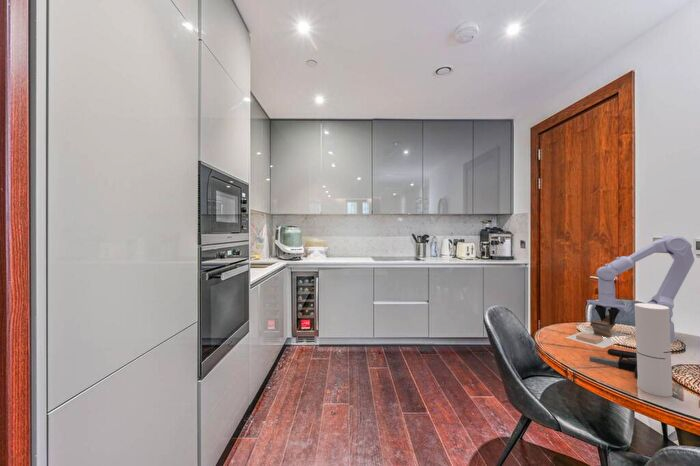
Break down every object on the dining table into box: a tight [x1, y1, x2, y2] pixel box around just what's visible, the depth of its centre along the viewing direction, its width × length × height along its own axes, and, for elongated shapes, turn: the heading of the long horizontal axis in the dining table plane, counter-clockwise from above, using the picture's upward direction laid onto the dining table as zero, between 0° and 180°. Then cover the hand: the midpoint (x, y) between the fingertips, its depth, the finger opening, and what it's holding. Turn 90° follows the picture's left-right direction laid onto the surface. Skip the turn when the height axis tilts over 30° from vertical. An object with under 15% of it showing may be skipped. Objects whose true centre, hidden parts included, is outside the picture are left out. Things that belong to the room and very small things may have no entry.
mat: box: [564, 328, 633, 349], centre depth 129 cm, size 25×14×1 cm, turn 116°
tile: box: [576, 333, 603, 344], centre depth 125 cm, size 2×7×6 cm
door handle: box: [589, 348, 638, 379], centre depth 104 cm, size 3×20×16 cm
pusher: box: [589, 314, 616, 337], centre depth 131 cm, size 11×6×6 cm, turn 117°
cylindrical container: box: [634, 302, 674, 398], centre depth 87 cm, size 7×7×25 cm
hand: (607, 323), depth 132 cm, fingers closed on pusher, 2 cm apart
